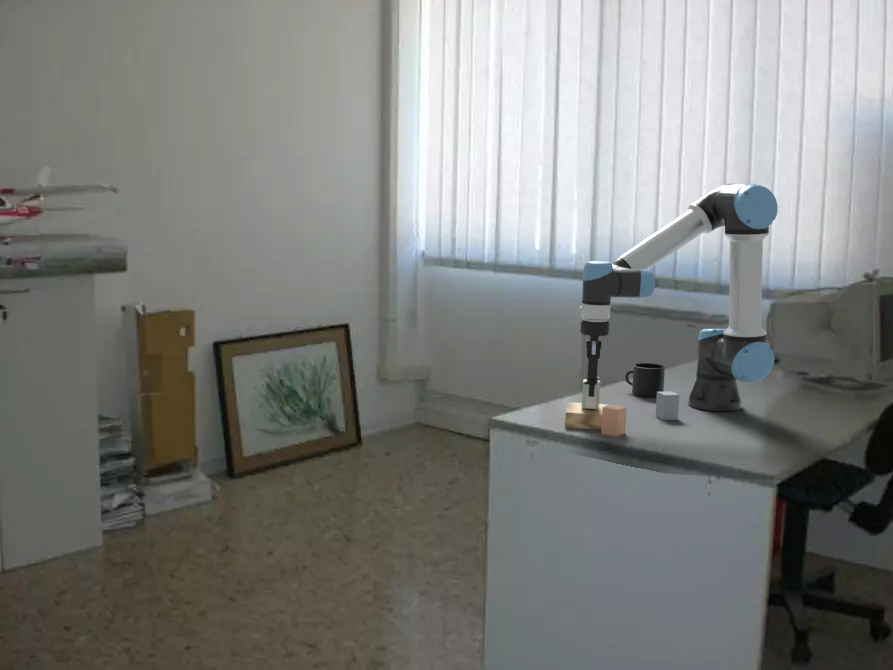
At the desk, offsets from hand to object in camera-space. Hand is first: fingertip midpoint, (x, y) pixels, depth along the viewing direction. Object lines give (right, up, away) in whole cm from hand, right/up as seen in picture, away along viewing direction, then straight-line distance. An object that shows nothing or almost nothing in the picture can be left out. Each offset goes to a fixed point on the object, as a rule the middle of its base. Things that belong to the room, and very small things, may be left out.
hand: (590, 405), depth 275 cm
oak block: (0, -5, +1) cm, 5 cm away
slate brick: (+22, -4, +10) cm, 25 cm away
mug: (+22, +1, +41) cm, 46 cm away
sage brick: (0, 0, 0) cm, 0 cm away
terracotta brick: (+4, -7, -10) cm, 13 cm away
